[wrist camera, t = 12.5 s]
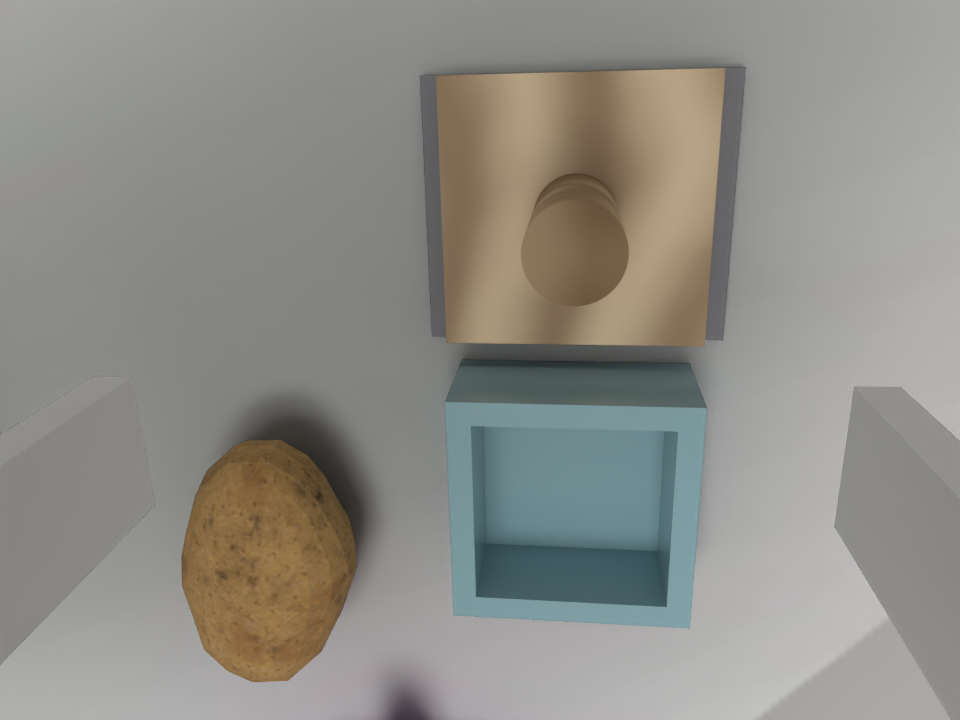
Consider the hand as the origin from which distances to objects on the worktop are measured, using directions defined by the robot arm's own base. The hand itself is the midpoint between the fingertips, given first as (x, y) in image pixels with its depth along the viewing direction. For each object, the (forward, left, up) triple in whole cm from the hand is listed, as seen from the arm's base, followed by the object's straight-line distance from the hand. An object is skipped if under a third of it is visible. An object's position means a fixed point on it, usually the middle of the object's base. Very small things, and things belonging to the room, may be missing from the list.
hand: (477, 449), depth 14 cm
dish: (+2, -14, -27) cm, 30 cm away
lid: (+2, 0, -26) cm, 26 cm away
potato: (-15, -18, -27) cm, 36 cm away
